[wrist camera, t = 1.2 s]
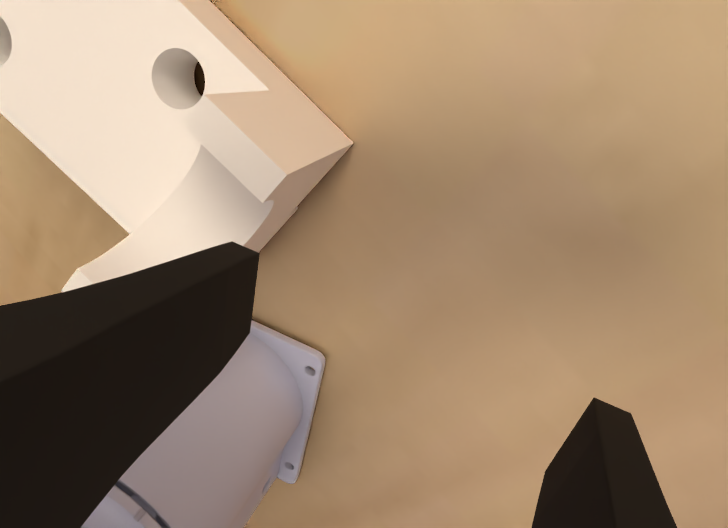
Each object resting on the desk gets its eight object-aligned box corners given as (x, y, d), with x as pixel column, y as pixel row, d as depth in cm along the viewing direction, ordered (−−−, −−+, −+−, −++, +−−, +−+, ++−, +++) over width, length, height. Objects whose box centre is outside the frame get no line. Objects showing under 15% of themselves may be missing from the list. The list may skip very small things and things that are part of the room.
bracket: (360, 139, 20) (286, 174, 13) (244, 268, 22) (131, 355, 15) (86, -131, 19) (-152, -252, 12) (-1, 36, 22) (-237, 17, 15)
